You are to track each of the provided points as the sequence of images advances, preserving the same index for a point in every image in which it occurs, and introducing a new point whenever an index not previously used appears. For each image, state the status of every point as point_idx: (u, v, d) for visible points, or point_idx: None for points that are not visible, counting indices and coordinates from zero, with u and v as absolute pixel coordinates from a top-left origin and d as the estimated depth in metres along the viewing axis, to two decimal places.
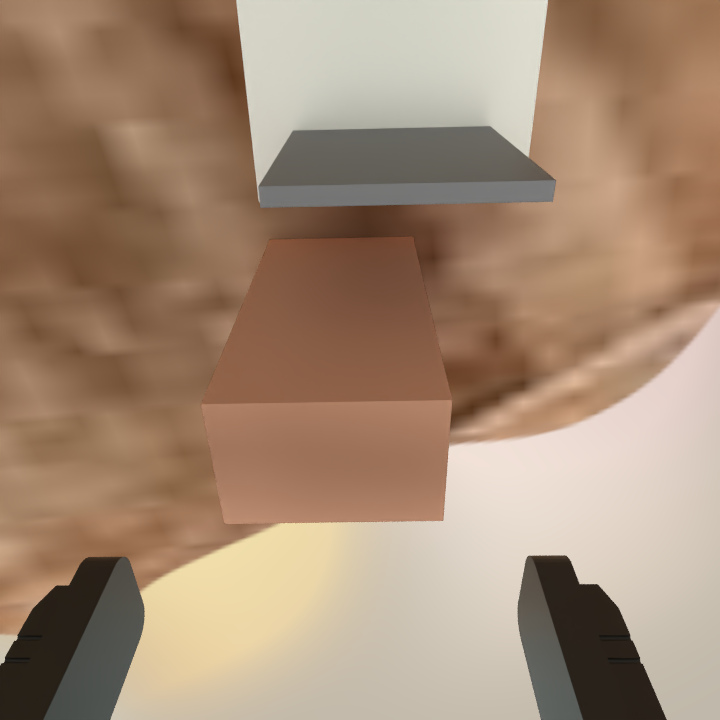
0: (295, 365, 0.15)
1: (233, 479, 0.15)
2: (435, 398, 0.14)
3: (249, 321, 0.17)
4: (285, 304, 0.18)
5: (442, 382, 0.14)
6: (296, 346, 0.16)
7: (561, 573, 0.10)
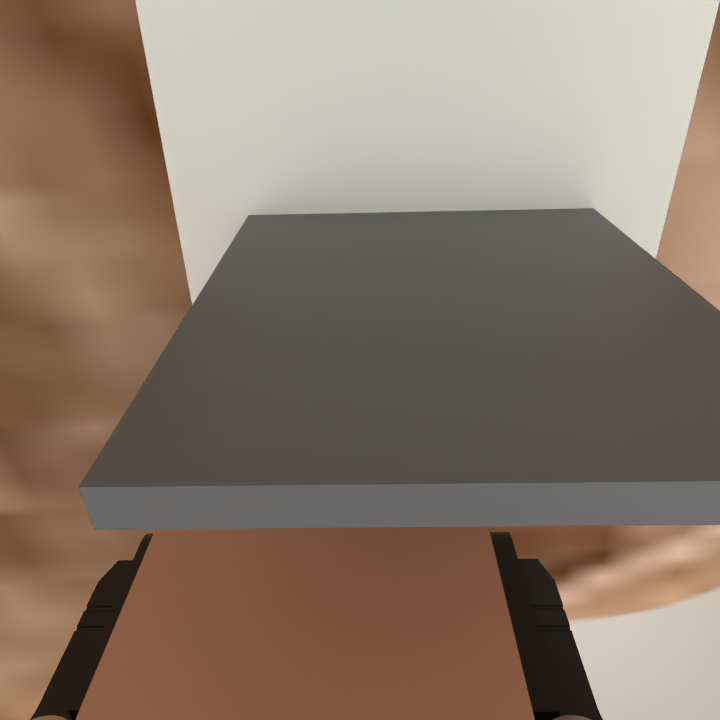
0: None
1: None
2: None
3: (144, 622, 0.09)
4: (223, 560, 0.10)
5: None
6: None
7: (501, 547, 0.11)
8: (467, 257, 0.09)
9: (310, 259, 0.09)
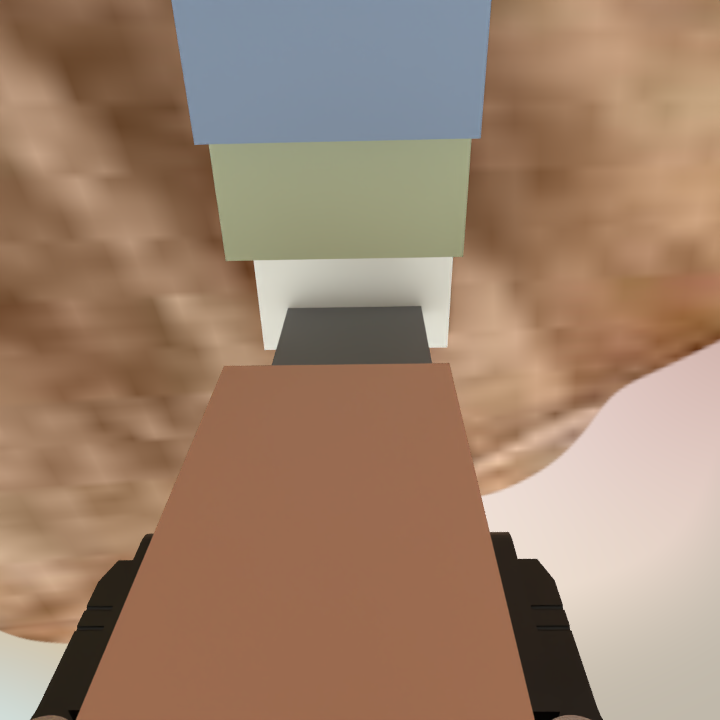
0: None
1: None
2: None
3: (144, 623, 0.09)
4: (223, 560, 0.10)
5: None
6: None
7: (501, 547, 0.11)
8: (364, 330, 0.28)
9: (312, 330, 0.28)
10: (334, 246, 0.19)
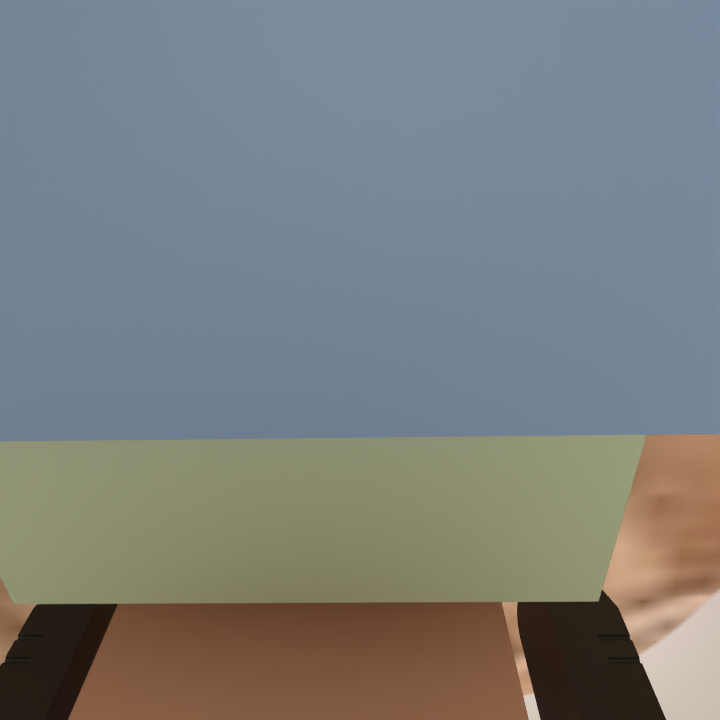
0: None
1: None
2: None
3: None
4: None
5: None
6: (233, 662, 0.08)
7: None
8: None
9: None
10: (278, 581, 0.08)
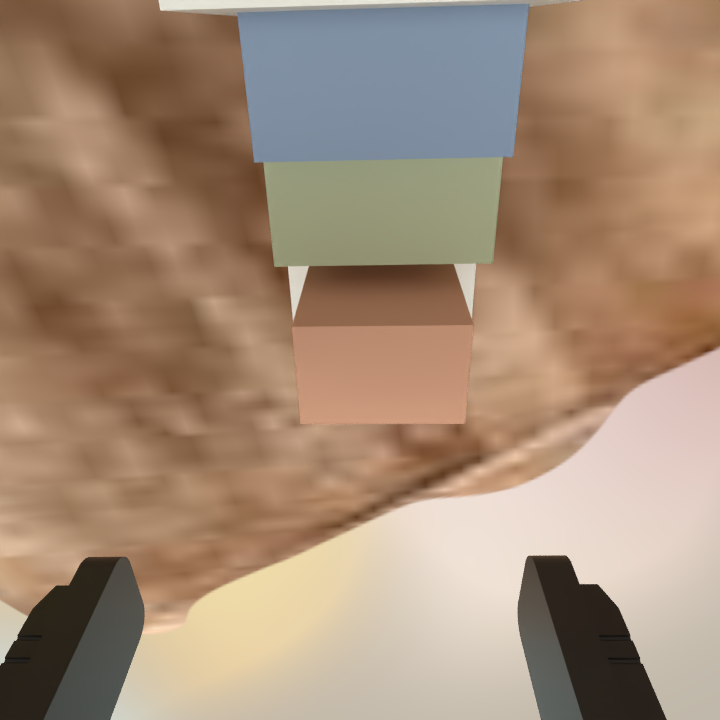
0: (356, 304, 0.20)
1: (310, 387, 0.20)
2: (461, 324, 0.19)
3: (316, 276, 0.23)
4: (342, 266, 0.24)
5: (466, 314, 0.20)
6: (355, 292, 0.21)
7: (561, 573, 0.10)
8: None
9: None
10: (374, 253, 0.21)
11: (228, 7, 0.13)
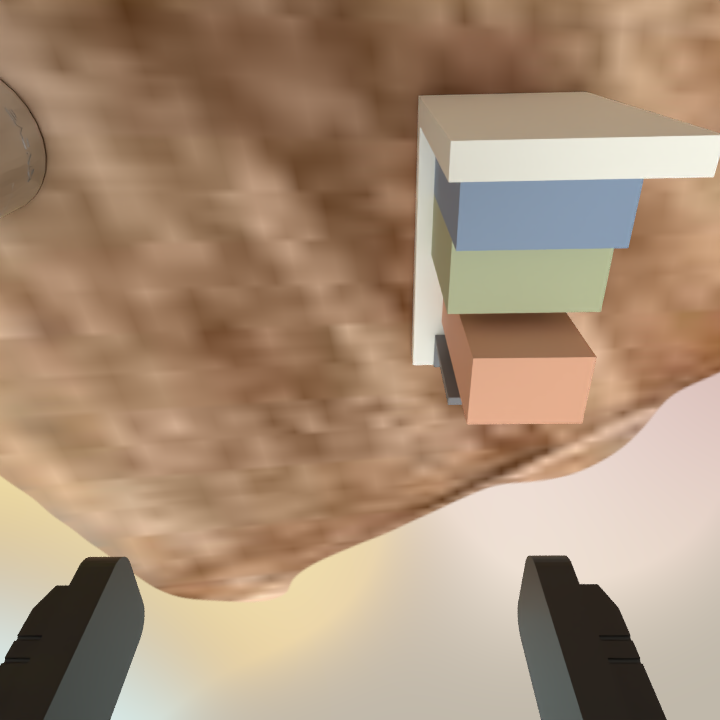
0: (509, 341, 0.30)
1: (478, 398, 0.29)
2: (588, 356, 0.28)
3: (468, 318, 0.32)
4: None
5: (588, 349, 0.29)
6: (503, 331, 0.30)
7: (561, 573, 0.10)
8: None
9: None
10: (519, 305, 0.30)
11: (489, 181, 0.22)
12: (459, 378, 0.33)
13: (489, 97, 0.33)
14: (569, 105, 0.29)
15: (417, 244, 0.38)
